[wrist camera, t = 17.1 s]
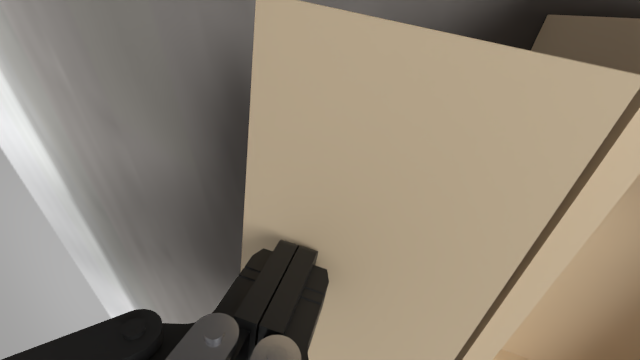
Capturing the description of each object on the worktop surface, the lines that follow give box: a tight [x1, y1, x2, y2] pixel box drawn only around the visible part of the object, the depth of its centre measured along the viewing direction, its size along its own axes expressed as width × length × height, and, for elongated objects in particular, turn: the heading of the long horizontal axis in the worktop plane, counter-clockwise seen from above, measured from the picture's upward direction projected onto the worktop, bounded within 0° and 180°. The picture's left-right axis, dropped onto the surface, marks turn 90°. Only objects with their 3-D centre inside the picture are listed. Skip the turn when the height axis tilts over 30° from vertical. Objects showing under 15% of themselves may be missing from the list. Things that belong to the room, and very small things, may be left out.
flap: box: [241, 0, 640, 360], centre depth 12 cm, size 17×1×9 cm
